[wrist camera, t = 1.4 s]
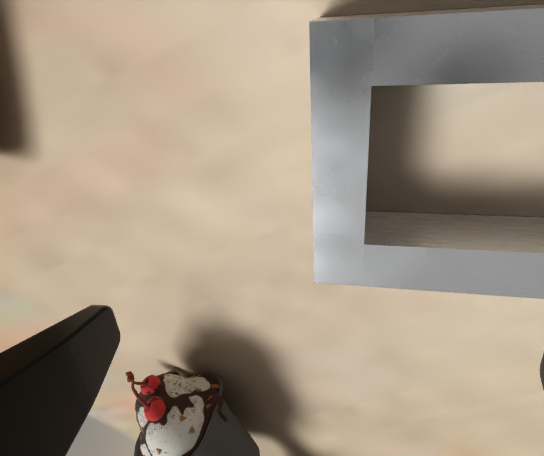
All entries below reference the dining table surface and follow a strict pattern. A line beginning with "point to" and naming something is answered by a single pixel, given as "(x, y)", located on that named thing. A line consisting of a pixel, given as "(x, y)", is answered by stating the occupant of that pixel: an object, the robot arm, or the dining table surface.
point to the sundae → (187, 418)
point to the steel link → (355, 144)
